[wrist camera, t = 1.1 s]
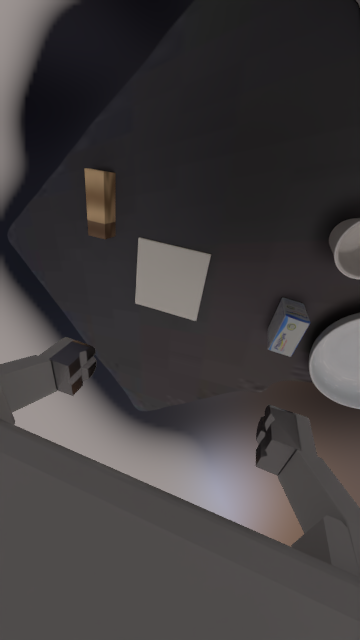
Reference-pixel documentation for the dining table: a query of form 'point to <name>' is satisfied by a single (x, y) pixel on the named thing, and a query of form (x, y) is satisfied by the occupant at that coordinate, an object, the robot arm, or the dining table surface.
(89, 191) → the wooden block
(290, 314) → the medicine box
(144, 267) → the mat
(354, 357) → the serving bowl
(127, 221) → the dining table surface
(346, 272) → the dixie cup
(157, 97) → the dining table surface
